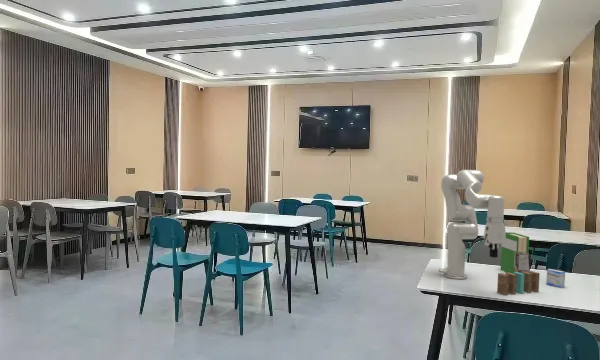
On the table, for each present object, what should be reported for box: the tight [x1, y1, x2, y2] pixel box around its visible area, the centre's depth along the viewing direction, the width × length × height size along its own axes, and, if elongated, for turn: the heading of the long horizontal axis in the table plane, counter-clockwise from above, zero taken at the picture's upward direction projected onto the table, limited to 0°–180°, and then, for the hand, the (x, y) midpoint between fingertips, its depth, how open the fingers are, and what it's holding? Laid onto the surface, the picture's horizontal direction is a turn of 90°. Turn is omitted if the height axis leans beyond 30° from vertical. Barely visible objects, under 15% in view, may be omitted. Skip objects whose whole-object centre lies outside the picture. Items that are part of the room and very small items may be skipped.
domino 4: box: [529, 270, 541, 293], centre depth 231 cm, size 2×5×10 cm, turn 20°
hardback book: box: [500, 231, 530, 274], centre depth 271 cm, size 18×7×24 cm, turn 3°
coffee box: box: [514, 252, 532, 273], centre depth 251 cm, size 9×6×16 cm
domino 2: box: [505, 272, 517, 295], centre depth 226 cm, size 2×5×10 cm, turn 21°
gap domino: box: [513, 272, 525, 295], centre depth 228 cm, size 2×5×10 cm, turn 20°
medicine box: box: [545, 268, 566, 289], centre depth 244 cm, size 8×4×9 cm, turn 36°
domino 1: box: [496, 272, 509, 296], centre depth 224 cm, size 2×5×10 cm, turn 21°
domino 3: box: [521, 271, 532, 294], centre depth 229 cm, size 2×5×10 cm, turn 20°
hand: (493, 256), depth 221 cm, fingers closed
